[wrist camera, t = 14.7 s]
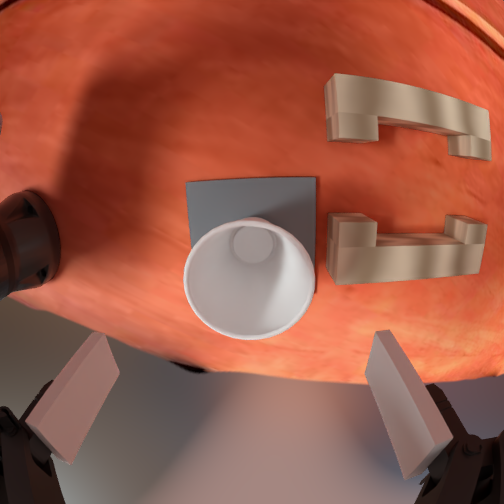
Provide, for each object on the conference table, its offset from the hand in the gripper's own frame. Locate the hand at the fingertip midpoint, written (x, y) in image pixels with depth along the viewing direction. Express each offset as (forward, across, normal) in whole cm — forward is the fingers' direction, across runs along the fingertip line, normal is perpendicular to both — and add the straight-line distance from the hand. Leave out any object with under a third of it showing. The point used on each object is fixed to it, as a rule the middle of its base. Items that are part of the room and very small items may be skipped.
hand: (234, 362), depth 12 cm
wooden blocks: (+20, +19, +7) cm, 29 cm away
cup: (+20, 0, 0) cm, 20 cm away
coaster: (+20, 0, 0) cm, 20 cm away
